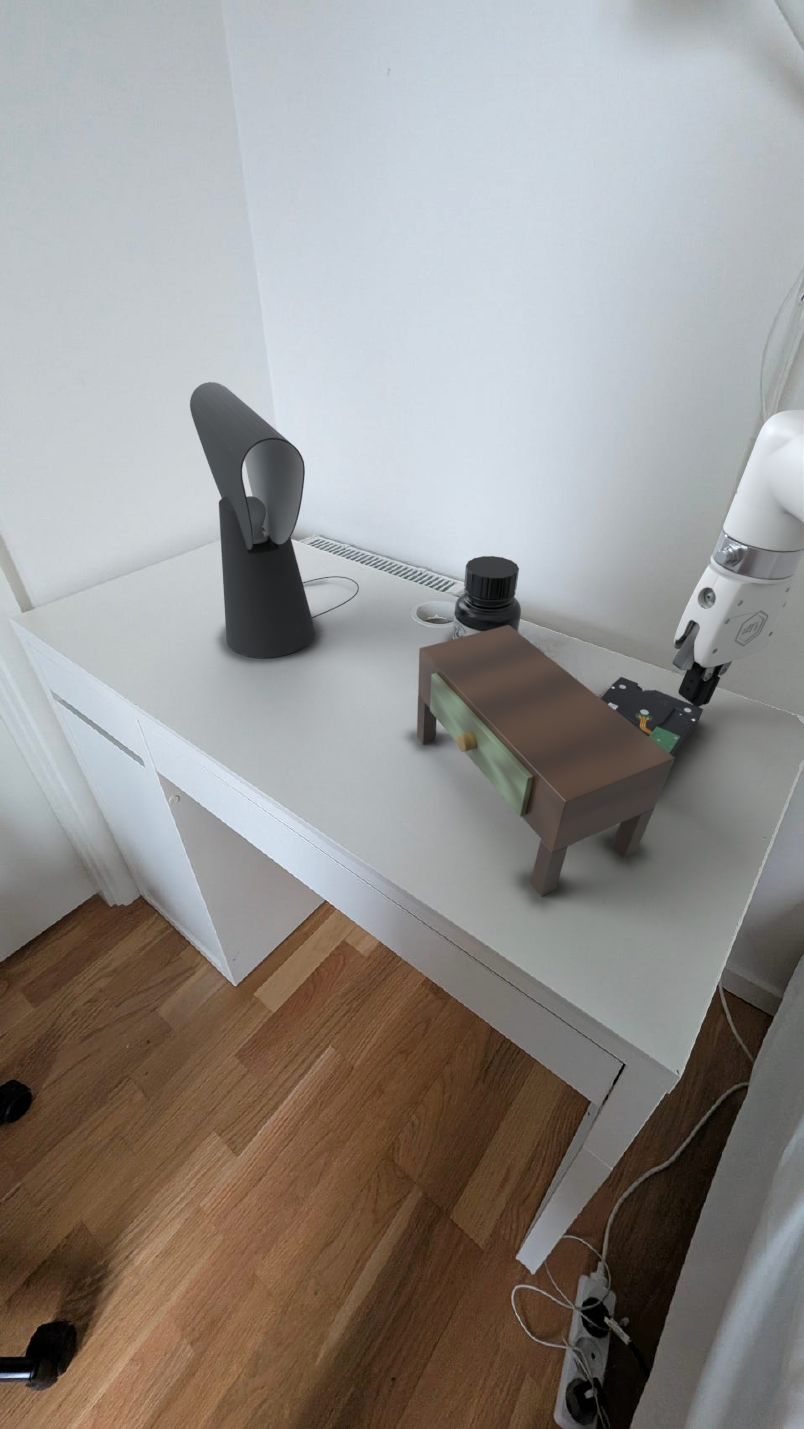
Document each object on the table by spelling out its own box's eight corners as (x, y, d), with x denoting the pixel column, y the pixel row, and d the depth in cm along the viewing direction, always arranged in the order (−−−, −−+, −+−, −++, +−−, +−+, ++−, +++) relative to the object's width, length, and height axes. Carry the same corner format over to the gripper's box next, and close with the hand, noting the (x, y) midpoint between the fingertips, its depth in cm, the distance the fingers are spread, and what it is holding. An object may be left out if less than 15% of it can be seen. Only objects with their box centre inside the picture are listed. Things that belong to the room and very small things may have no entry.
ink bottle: (441, 634, 84) (445, 556, 77) (495, 624, 87) (505, 547, 79) (470, 670, 77) (477, 588, 70) (528, 658, 80) (541, 577, 72)
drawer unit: (636, 851, 54) (675, 757, 46) (523, 904, 50) (546, 810, 42) (496, 710, 70) (508, 624, 63) (402, 740, 66) (403, 652, 59)
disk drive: (613, 693, 74) (560, 753, 64) (618, 675, 72) (564, 734, 63) (697, 726, 69) (652, 796, 59) (705, 707, 67) (659, 777, 58)
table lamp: (124, 605, 91) (52, 389, 72) (265, 550, 108) (236, 364, 89) (292, 707, 71) (253, 445, 52) (433, 621, 87) (443, 398, 69)
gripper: (733, 584, 52) (668, 735, 64) (842, 555, 57) (763, 701, 69) (671, 551, 57) (621, 696, 69) (776, 527, 62) (713, 667, 74)
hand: (692, 698), depth 69 cm, fingers closed
